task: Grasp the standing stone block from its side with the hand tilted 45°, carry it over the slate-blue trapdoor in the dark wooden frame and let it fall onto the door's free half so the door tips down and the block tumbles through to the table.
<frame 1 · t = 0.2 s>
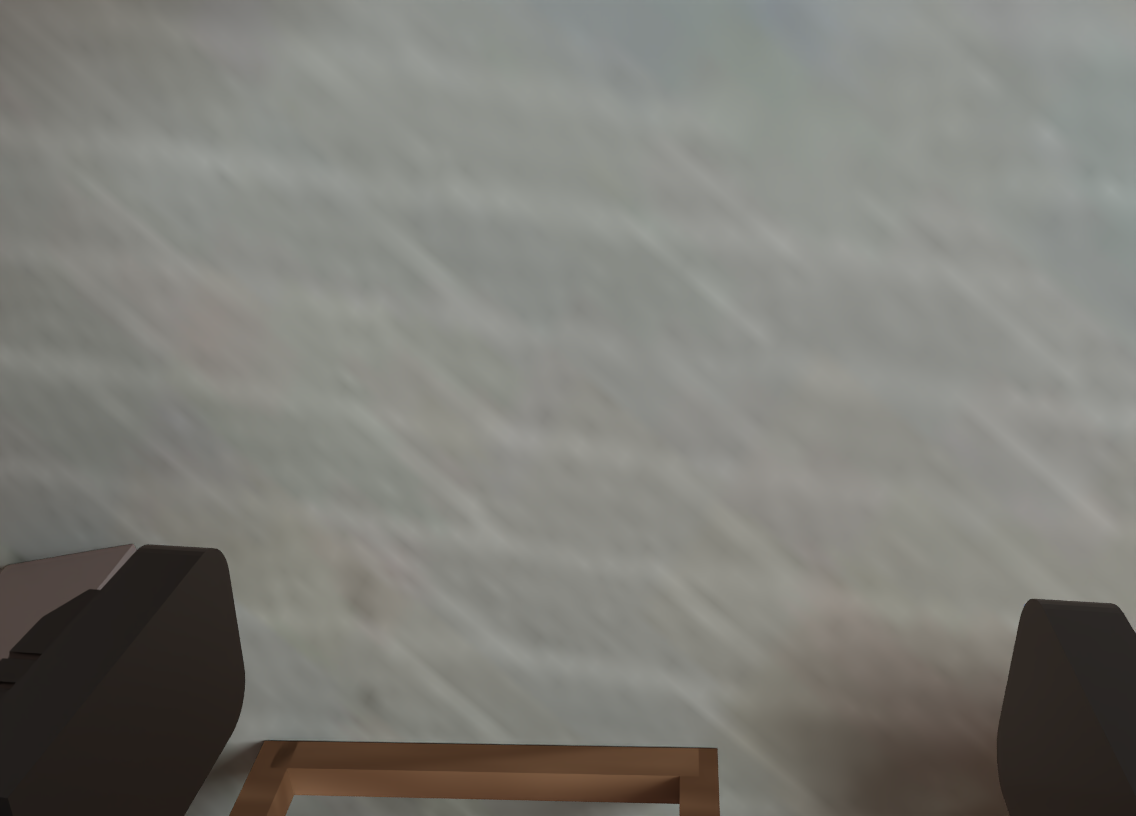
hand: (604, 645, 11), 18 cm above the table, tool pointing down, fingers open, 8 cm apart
stone: (100, 611, 35), on the table
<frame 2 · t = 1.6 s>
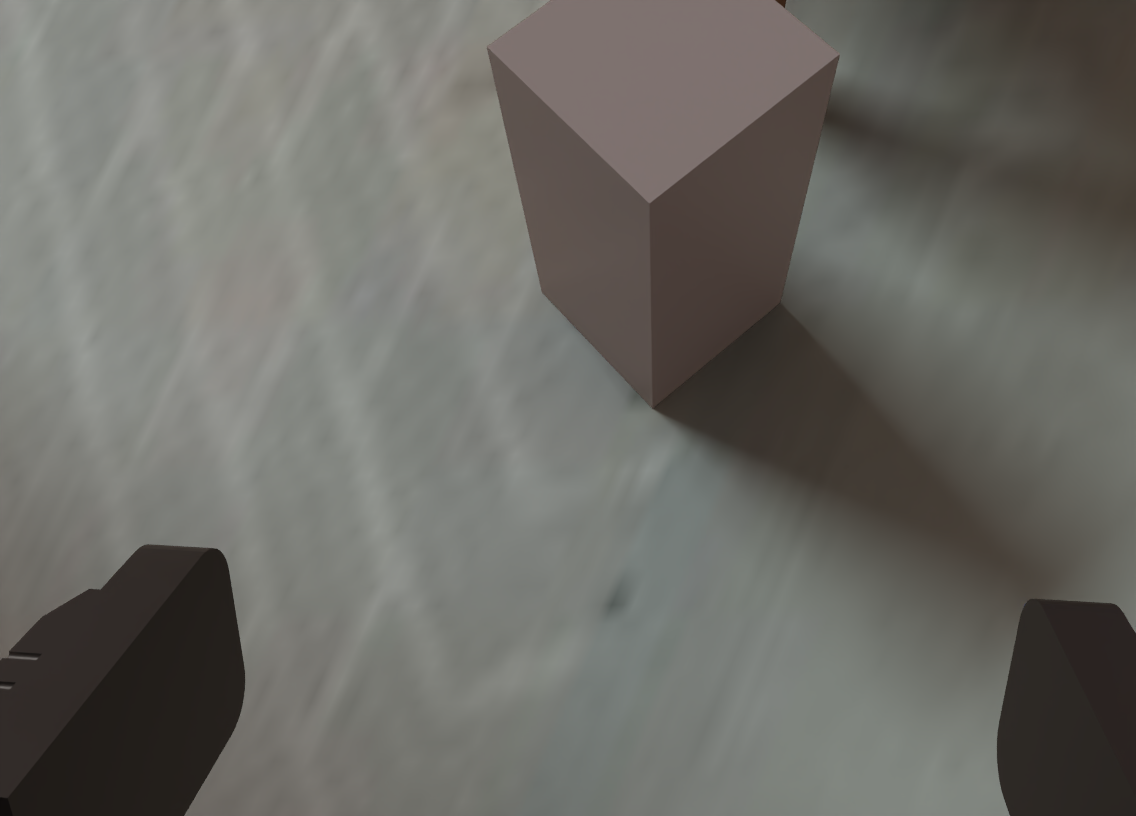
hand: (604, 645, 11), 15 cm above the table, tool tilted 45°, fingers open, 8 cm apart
stone: (659, 297, 29), on the table
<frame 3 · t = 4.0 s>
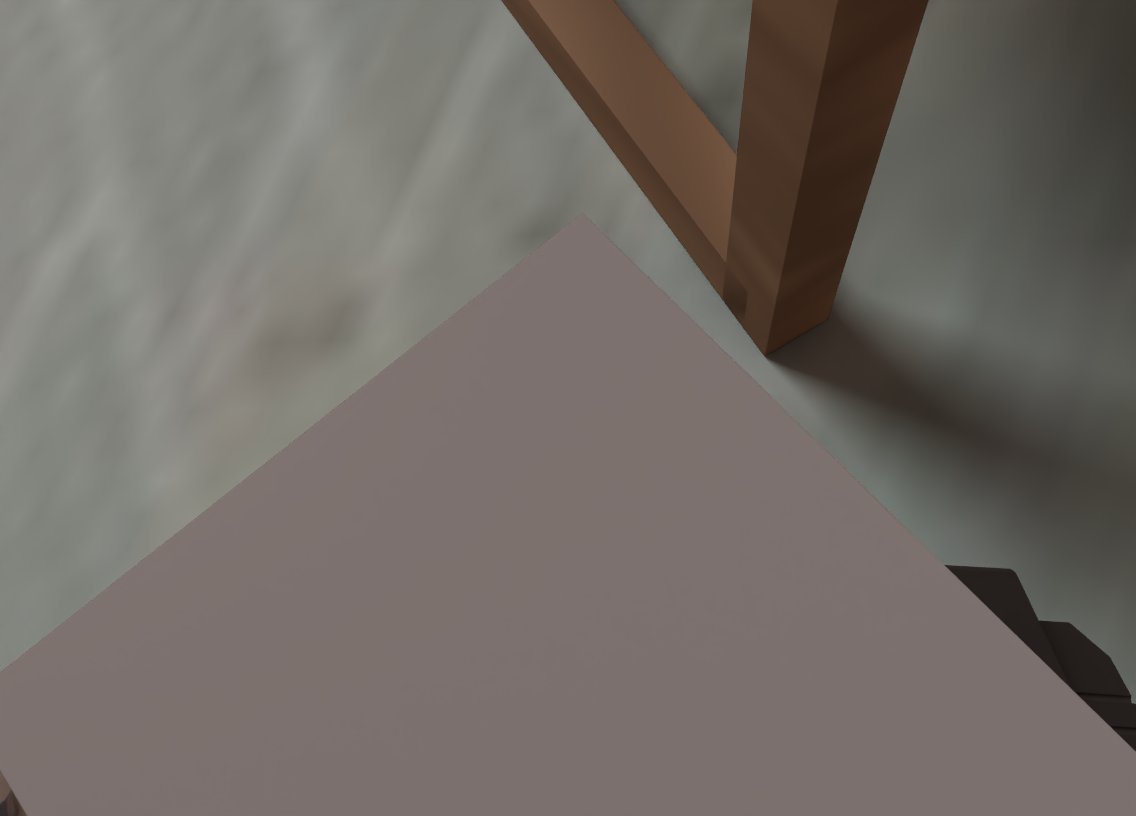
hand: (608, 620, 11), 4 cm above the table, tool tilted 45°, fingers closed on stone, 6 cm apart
stone: (619, 794, 15), on the table, touching gripper
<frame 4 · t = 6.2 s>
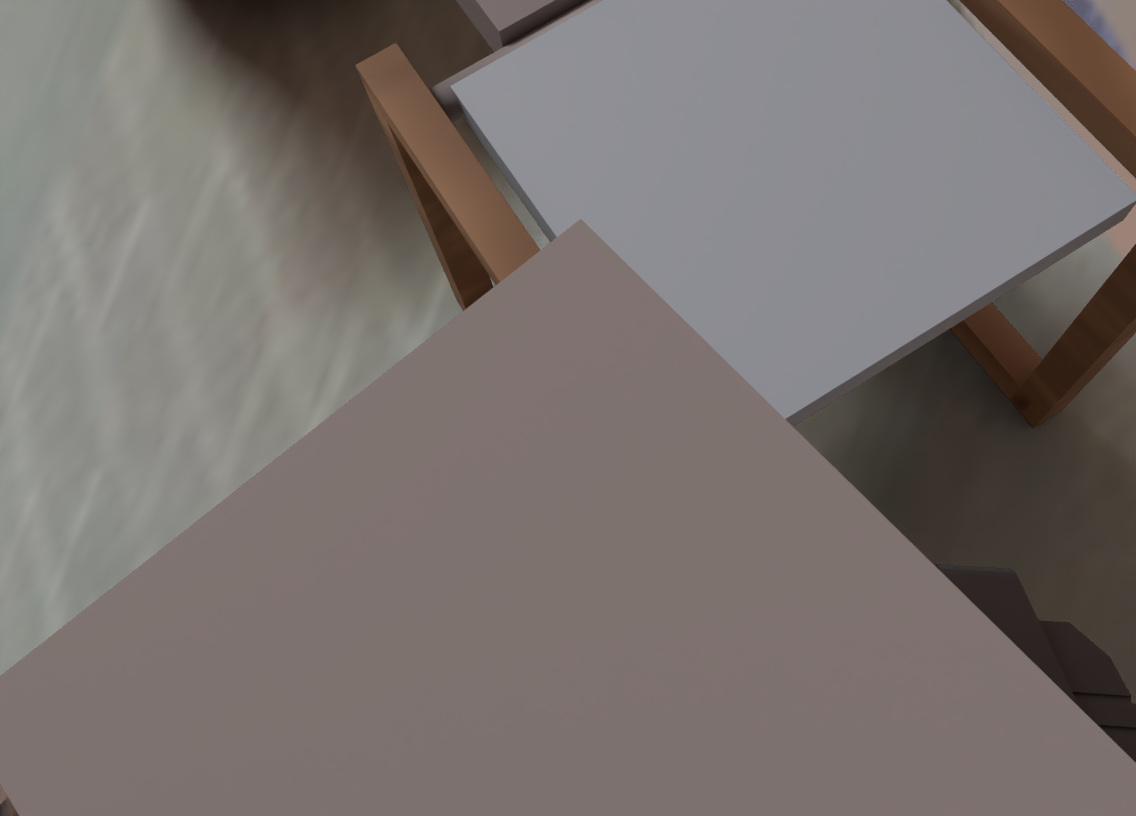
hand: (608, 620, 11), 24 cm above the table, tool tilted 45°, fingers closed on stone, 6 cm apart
stone: (618, 797, 15), point 20 cm above the table, touching gripper
trapdoor: (722, 88, 27), point 12 cm above the table, hinge at -0.2°
frame: (745, 352, 38), on the table
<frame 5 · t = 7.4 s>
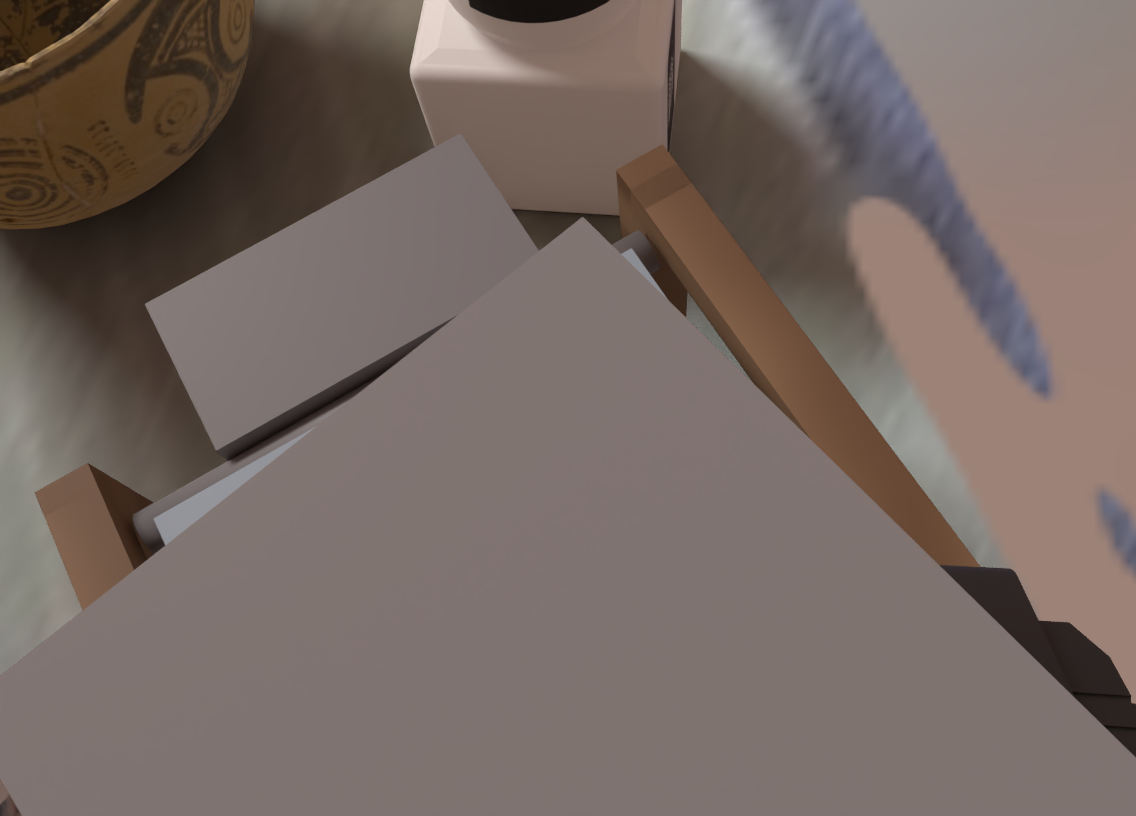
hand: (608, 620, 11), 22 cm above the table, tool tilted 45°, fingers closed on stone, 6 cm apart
ceramic bowl: (103, 111, 43), on the table
stone: (619, 796, 15), point 18 cm above the table, touching gripper
container: (569, 128, 40), on the table
trapdoor: (486, 532, 22), point 12 cm above the table, hinge at -0.2°
frame: (584, 691, 33), on the table
when the fingers open (20 cm above the table, at t = 8.3 s): stone drops 8 cm and tips over, point 7 cm above the table.
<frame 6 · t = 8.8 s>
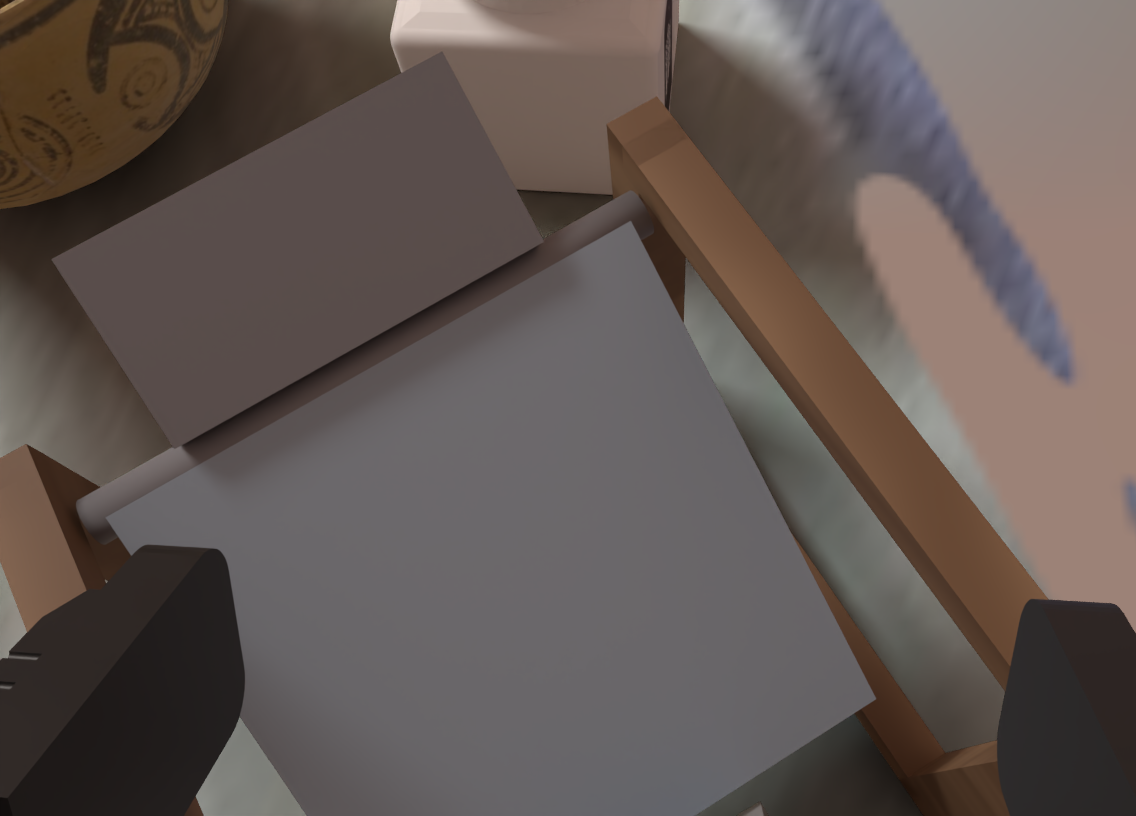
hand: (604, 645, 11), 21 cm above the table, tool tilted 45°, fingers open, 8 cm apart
ceramic bowl: (75, 91, 41), on the table
container: (562, 105, 39), on the table
trapdoor: (468, 519, 22), point 10 cm above the table, hinge at -33.0°
frame: (578, 696, 31), on the table
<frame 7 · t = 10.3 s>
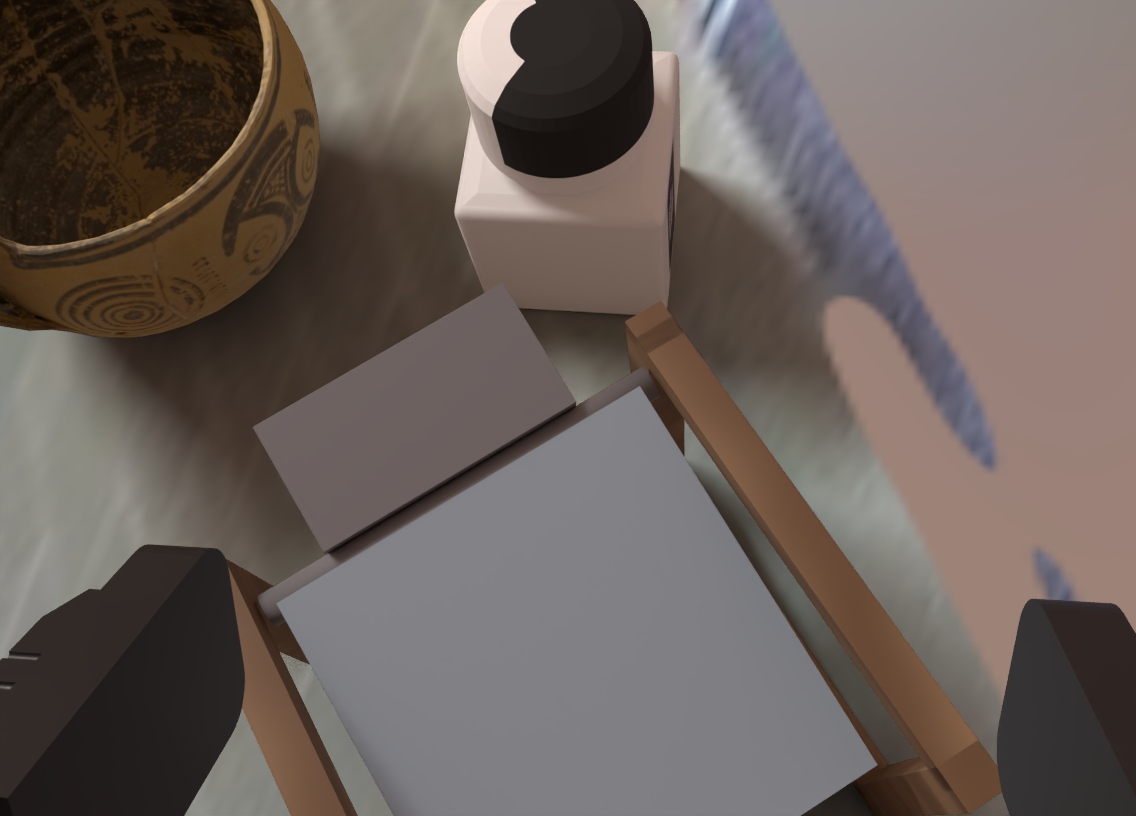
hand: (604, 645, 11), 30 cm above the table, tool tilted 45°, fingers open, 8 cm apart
ceramic bowl: (186, 224, 50), on the table
container: (586, 237, 47), on the table
trapdoor: (531, 610, 30), point 12 cm above the table, hinge at -13.2°
frame: (605, 722, 40), on the table
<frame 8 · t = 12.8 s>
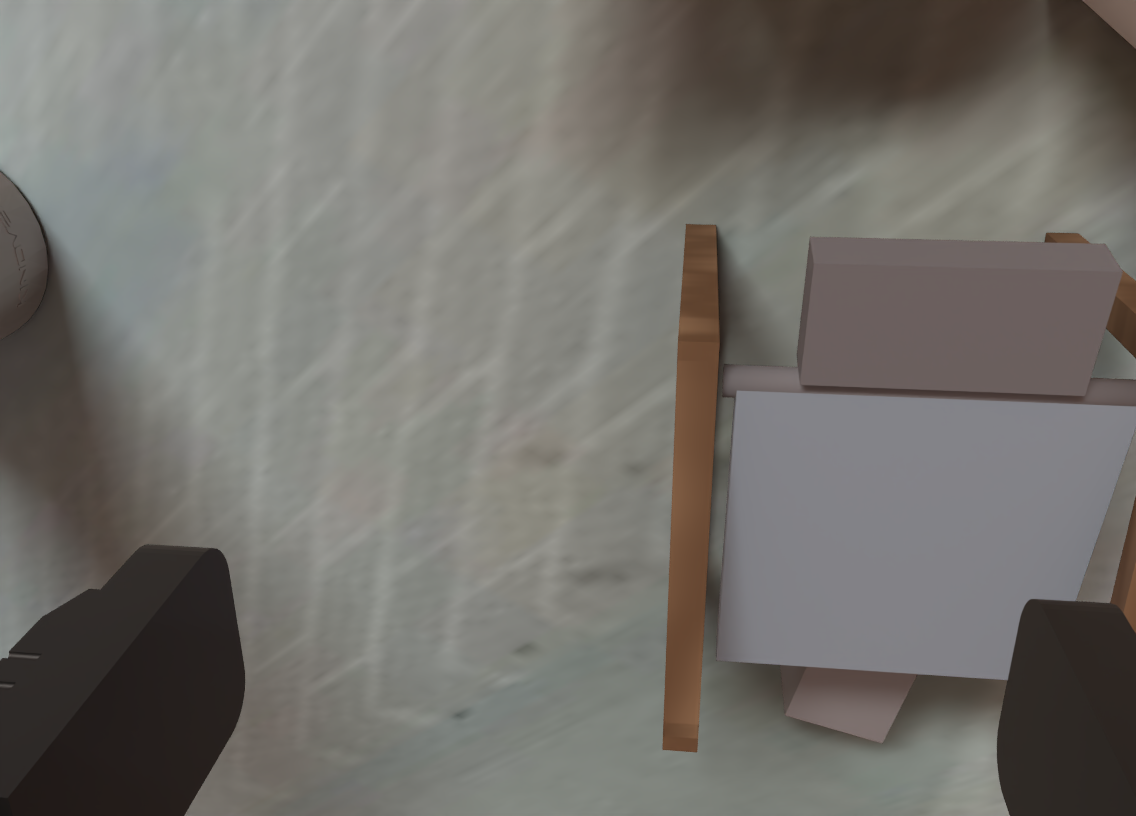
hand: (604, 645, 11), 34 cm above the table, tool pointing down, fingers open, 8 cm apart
stone: (912, 517, 46), point 2 cm above the table, tilted 90°
trapdoor: (913, 485, 34), point 12 cm above the table, hinge at -11.6°
frame: (858, 403, 46), on the table
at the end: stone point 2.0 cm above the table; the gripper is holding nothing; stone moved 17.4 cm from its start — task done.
